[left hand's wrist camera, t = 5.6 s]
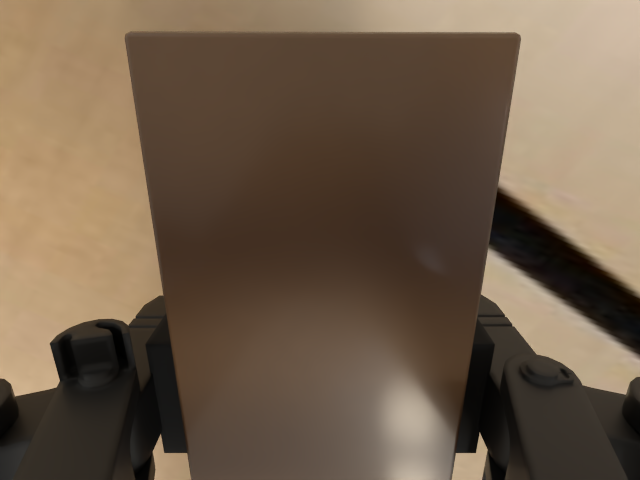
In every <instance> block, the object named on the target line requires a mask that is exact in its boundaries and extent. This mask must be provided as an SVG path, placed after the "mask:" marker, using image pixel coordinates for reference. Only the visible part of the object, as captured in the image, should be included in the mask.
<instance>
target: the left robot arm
mask: <svg viewBox="0 0 640 480" xmlns="http://www.w3.org/2000/svg"><path fill="white" fill-rule="evenodd" d="M50 346H51V349H52V353H53V357H54V360H55V364H56V368H57V371H58V375H59V379H60V382H59V384H58V386H57V388H53V389H49V390H45V391H40V392H35V393H30V394H25V395H21V396H16V397H15V395H14V392H13V389H12V386H11V384H10V383H9V382H7V381H6V380H5V379H0V480H154V476H155V463H154V457H153V449H154V447H155V445H156V443H157V441H158V438H159V436H160V434H161V436H162V442H163V447H164V453H187V447H186V440H185V434H184V427H183V421H182V414H181V407H180V401H179V394H178V387H177V381H176V374H175V367H174V361H173V354H172V348H171V341H170V334H169V328H168V321H167V314H166V308H165V301H164V296H158V297H157V298H155V299H154V300H152V301H151V302H149V303H147V304H146V305H144V307H143V308H142V309H141V310H140V312H139V313H138V314H137V315H136V319H133V320H132V322H131V323H130V324H129V326H128V325H127V324H125V323H124V322H123V321H119V320H115V319H98V320H93V321H88V322H84V323H81V324H79V325H76V326H73V327H71V328H69V329H67V330H65V331H64V332H62V333H60V334H59V335H57V336H56V337H55V338H54V339H53V341H52V342H51V343H50ZM479 432H480V433H481V436H482V438H483V440H484V442H485V444H486V447H487V449H488V452H487V457H486V462H485V467H484V473H483V478H482V480H640V377H636V378H635V379H634V380H632V381H631V382H630V384H629V387H628V391H627V394H626V395H624V394H619V393H614V392H609V391H604V390H600V389H595V388H590V387H587V386H583V385H582V383H581V381H580V380H579V378H578V377H577V376H576V375H575V373H574V372H573V371H572V370H570V369H569V368H568V367H566V366H565V365H563V364H562V363H560V362H558V361H555V360H553V359H551V358H549V357H545V356H541V355H537V354H536V353H535V352H534V351H533V350H532V348H531V347H530V346H529V345H528V343H527V342H526V341H525V340H524V338H523V337H522V336H521V335H520V333H519V332H518V331H517V330H516V328H515V327H512V323H511V322H510V321H509V320H508V318H507V317H505V315H504V313H503V312H502V311H501V310H500V308H499V307H498V306H497V305H496V304H495V303H494V302H492V301H491V300H489V299H487V298H486V297H484V296H483V295H481V296H480V302H479V308H478V315H477V321H476V327H475V334H474V340H473V346H472V353H471V359H470V365H469V372H468V378H467V384H466V391H465V397H464V403H463V410H462V416H461V423H460V429H459V435H458V442H457V448H456V453H476V449H477V443H478V438H479Z"/></svg>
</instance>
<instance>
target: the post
mask: <svg viewBox="0 0 640 480" xmlns="http://www.w3.org/2000/svg"><path fill="white" fill-rule="evenodd" d="M125 42H126V49H127V56H128V62H129V69H130V75H131V82H132V89H133V95H134V102H135V109H136V115H137V122H138V129H139V135H140V142H141V148H142V155H143V162H144V168H145V175H146V182H147V188H148V195H149V202H150V208H151V215H152V221H153V228H154V235H155V241H156V248H157V255H158V261H159V268H160V275H161V281H162V288H163V294H164V301H165V308H166V314H167V321H168V328H169V334H170V341H171V348H172V354H173V361H174V367H175V374H176V381H177V387H178V394H179V401H180V407H181V414H182V421H183V427H184V434H185V440H186V447H187V454H188V460H189V467H190V474H191V480H452V473H453V467H454V461H455V454H456V448H457V442H458V435H459V429H460V423H461V416H462V410H463V403H464V397H465V391H466V384H467V378H468V372H469V365H470V359H471V353H472V346H473V340H474V334H475V327H476V321H477V315H478V308H479V302H480V296H481V289H482V283H483V277H484V270H485V264H486V257H487V251H488V245H489V238H490V232H491V226H492V219H493V213H494V207H495V200H496V194H497V188H498V181H499V175H500V169H501V162H502V156H503V150H504V143H505V137H506V131H507V124H508V118H509V111H510V105H511V99H512V92H513V86H514V80H515V73H516V67H517V61H518V54H519V48H520V42H521V37H520V35H519V34H517V33H500V32H129V33H127V34H126V35H125Z"/></svg>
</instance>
